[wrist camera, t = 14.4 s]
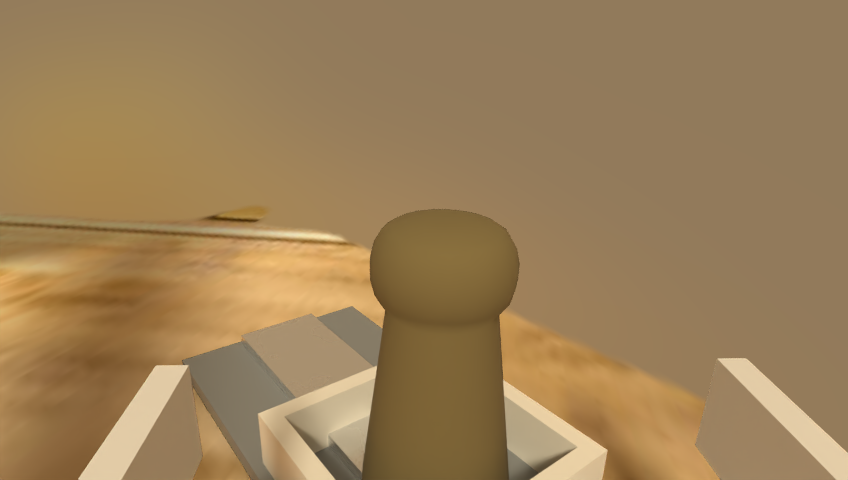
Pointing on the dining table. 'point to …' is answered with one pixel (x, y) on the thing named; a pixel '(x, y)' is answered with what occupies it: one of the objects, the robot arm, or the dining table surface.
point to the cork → (440, 348)
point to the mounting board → (281, 394)
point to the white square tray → (351, 400)
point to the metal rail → (312, 373)
